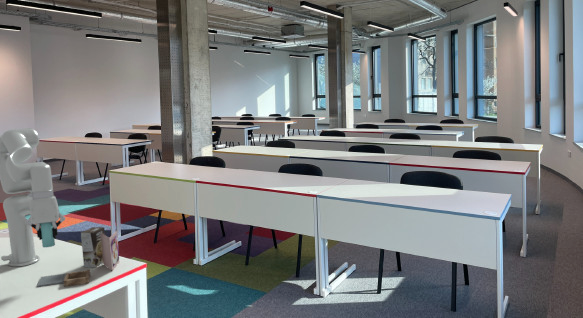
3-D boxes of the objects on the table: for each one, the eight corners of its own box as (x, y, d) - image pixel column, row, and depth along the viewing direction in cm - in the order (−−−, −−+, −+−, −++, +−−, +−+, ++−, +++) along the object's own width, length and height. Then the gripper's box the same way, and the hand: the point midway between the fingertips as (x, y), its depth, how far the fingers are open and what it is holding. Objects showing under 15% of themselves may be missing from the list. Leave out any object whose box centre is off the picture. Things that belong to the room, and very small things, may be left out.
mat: (37, 287, 192) (37, 285, 192) (41, 278, 202) (41, 276, 201) (64, 283, 195) (64, 281, 195) (67, 274, 205) (67, 273, 205)
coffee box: (96, 267, 212) (92, 232, 209) (83, 267, 213) (79, 232, 211) (108, 260, 220) (104, 226, 218) (95, 260, 222) (92, 226, 219)
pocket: (64, 286, 191) (63, 280, 191) (67, 278, 200) (66, 273, 199) (88, 283, 194) (88, 277, 194) (90, 275, 203) (89, 269, 202)
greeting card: (114, 271, 207) (111, 237, 205) (96, 272, 206) (93, 238, 204) (121, 261, 218) (118, 230, 216) (104, 263, 217) (101, 231, 215)
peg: (41, 248, 193) (38, 224, 192) (43, 244, 198) (40, 221, 196) (54, 246, 195) (51, 222, 193) (55, 243, 199) (53, 220, 198)
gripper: (17, 198, 187) (23, 243, 190) (64, 194, 192) (69, 237, 195) (21, 195, 194) (26, 238, 197) (67, 190, 200) (71, 233, 202)
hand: (47, 237), depth 196 cm, fingers closed on peg, 4 cm apart
